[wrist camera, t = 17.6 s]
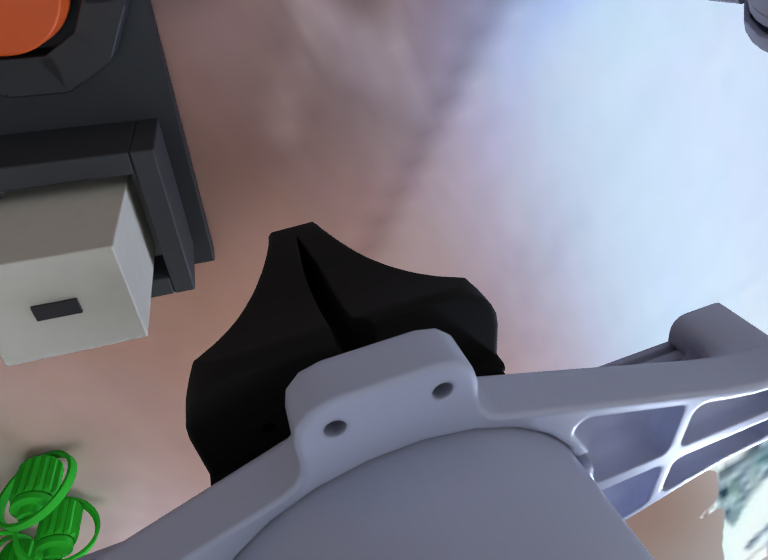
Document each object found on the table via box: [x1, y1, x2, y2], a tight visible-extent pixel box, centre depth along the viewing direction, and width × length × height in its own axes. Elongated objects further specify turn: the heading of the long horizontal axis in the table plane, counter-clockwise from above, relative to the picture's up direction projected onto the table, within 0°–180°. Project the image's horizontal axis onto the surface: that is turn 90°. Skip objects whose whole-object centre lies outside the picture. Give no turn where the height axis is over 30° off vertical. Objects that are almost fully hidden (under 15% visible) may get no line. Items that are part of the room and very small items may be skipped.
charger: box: [0, 174, 155, 366], centre depth 17 cm, size 4×3×6 cm
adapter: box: [0, 0, 215, 264], centre depth 18 cm, size 8×16×3 cm, turn 1°
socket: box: [0, 118, 195, 297], centre depth 19 cm, size 6×6×5 cm
